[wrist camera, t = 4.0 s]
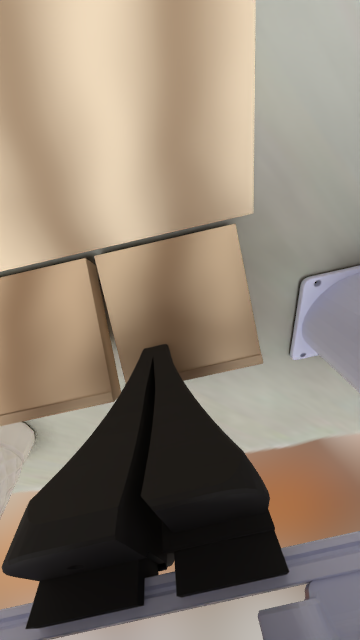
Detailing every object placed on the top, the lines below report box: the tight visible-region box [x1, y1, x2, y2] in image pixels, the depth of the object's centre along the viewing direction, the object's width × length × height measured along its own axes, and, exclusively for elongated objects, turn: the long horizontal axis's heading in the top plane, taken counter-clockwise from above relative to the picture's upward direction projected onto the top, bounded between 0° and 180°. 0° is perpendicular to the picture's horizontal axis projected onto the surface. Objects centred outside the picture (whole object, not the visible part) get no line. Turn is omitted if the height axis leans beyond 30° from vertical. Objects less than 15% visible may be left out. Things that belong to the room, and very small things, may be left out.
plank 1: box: [0, 258, 121, 426], centre depth 11 cm, size 8×8×1 cm
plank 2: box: [94, 224, 263, 383], centre depth 11 cm, size 8×8×1 cm
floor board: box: [0, 0, 256, 272], centre depth 9 cm, size 18×8×1 cm, turn 101°
